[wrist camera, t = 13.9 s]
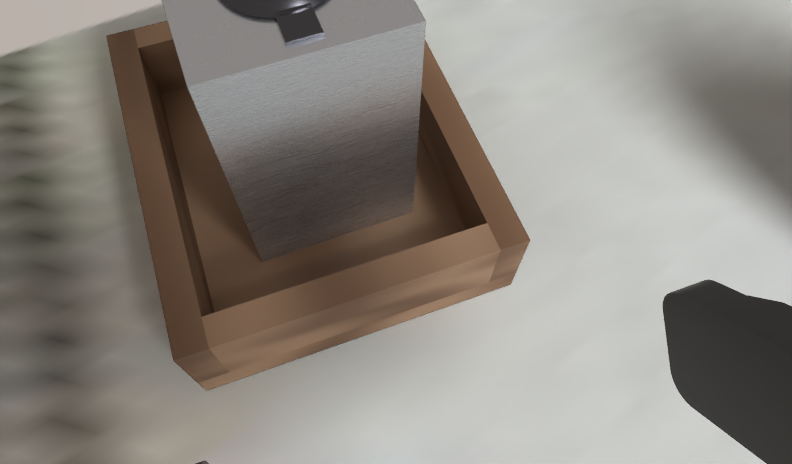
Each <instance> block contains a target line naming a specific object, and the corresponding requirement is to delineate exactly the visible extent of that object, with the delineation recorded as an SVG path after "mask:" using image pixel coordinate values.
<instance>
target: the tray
mask: <svg viewBox="0 0 792 464" xmlns="http://www.w3.org/2000/svg"><path fill="white" fill-rule="evenodd" d="M106 37H107V42H108V46H109V51H110V56H111V61H112V66H113V71H114V75H115V80H116V85H117V90H118V95H119V100H120V105H121V109H122V114H123V119H124V124H125V129H126V134H127V138H128V143H129V148H130V153H131V158H132V163H133V167H134V172H135V177H136V182H137V187H138V192H139V196H140V201H141V206H142V211H143V216H144V221H145V225H146V230H147V235H148V240H149V245H150V250H151V254H152V259H153V264H154V269H155V274H156V279H157V283H158V288H159V293H160V298H161V303H162V308H163V312H164V317H165V322H166V327H167V332H168V337H169V341H170V346H171V351H172V356H173V361H174V362H176V363H177V364H178V365H179V366H180V367H181V368H182V369H183V370H184V371H185V372H186V373H188V374H189V375H190V376H191V377H192V378H193V379H194V380H195V381H196V382H197V383H199V384H200V385H201V386H202V387H203V388H204V389H205V390H206V391H207V390H210V389H213V388H216V387H218V386H221V385H224V384H227V383H230V382H233V381H236V380H238V379H241V378H244V377H247V376H250V375H253V374H256V373H259V372H261V371H264V370H267V369H270V368H273V367H276V366H279V365H281V364H284V363H287V362H290V361H293V360H296V359H299V358H301V357H304V356H307V355H310V354H313V353H316V352H319V351H322V350H324V349H327V348H330V347H333V346H336V345H339V344H342V343H344V342H347V341H350V340H353V339H356V338H359V337H362V336H364V335H367V334H370V333H373V332H376V331H379V330H382V329H384V328H387V327H390V326H393V325H396V324H399V323H402V322H405V321H407V320H410V319H413V318H416V317H419V316H422V315H425V314H427V313H430V312H433V311H436V310H439V309H442V308H445V307H447V306H450V305H453V304H456V303H459V302H462V301H465V300H468V299H470V298H473V297H476V296H479V295H482V294H485V293H488V292H490V291H493V290H496V289H499V288H502V287H505V286H508V285H510V284H511V283H512V280H513V278H514V276H515V273H516V271H517V269H518V267H519V264H520V262H521V260H522V258H523V255H524V253H525V251H526V249H527V246H528V244H529V242H530V239H529V237H528V235H527V233H526V231H525V229H524V227H523V225H522V223H521V221H520V220H519V218H518V216H517V214H516V212H515V210H514V208H513V206H512V204H511V202H510V201H509V199H508V197H507V195H506V193H505V191H504V189H503V187H502V185H501V183H500V182H499V180H498V178H497V176H496V174H495V172H494V170H493V168H492V166H491V164H490V162H489V161H488V159H487V157H486V155H485V153H484V151H483V149H482V147H481V145H480V143H479V142H478V140H477V138H476V136H475V134H474V132H473V130H472V128H471V126H470V124H469V123H468V121H467V119H466V117H465V115H464V113H463V111H462V109H461V107H460V105H459V103H458V102H457V100H456V98H455V96H454V94H453V92H452V90H451V88H450V86H449V84H448V83H447V81H446V79H445V77H444V75H443V73H442V71H441V69H440V67H439V65H438V64H437V62H436V60H435V58H434V56H433V54H432V52H431V50H430V48H429V46H428V44H427V43H426V41H425V42H424V57H423V72H422V87H421V102H420V117H419V131H418V146H417V161H416V176H415V191H414V206H413V212H412V213H409V214H406V215H403V216H400V217H397V218H394V219H391V220H388V221H385V222H382V223H379V224H376V225H373V226H370V227H367V228H364V229H361V230H358V231H355V232H352V233H349V234H346V235H343V236H339V237H336V238H333V239H330V240H327V241H324V242H321V243H318V244H315V245H312V246H309V247H306V248H303V249H300V250H297V251H294V252H291V253H288V254H285V255H282V256H279V257H276V258H273V259H270V260H267V261H264V262H262V260H261V257H260V255H259V253H258V250H257V248H256V246H255V243H254V241H253V239H252V236H251V234H250V232H249V230H248V227H247V225H246V223H245V220H244V218H243V216H242V213H241V211H240V209H239V206H238V204H237V202H236V199H235V197H234V195H233V192H232V190H231V188H230V185H229V183H228V181H227V178H226V176H225V174H224V171H223V169H222V167H221V164H220V162H219V160H218V157H217V155H216V153H215V150H214V148H213V146H212V143H211V141H210V139H209V136H208V134H207V132H206V129H205V127H204V125H203V122H202V120H201V118H200V115H199V113H198V111H197V108H196V106H195V104H194V101H193V99H192V97H191V95H190V92H189V90H188V88H187V84H186V81H185V78H184V74H183V71H182V67H181V64H180V61H179V57H178V54H177V51H176V47H175V44H174V40H173V37H172V34H171V30H170V27H169V23H168V21H164V22H160V23H156V24H152V25H148V26H144V27H140V28H136V29H132V30H128V31H124V32H120V33H116V34H111V35H107V36H106Z"/></svg>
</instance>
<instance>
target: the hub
mask: <svg viewBox="0 0 792 464" xmlns="http://www.w3.org/2000/svg"><path fill="white" fill-rule="evenodd" d="M162 3H163V6H164V10H165V13H166V17H167V20H168V23H169V27H170V30H171V34H172V37H173V40H174V44H175V47H176V51H177V54H178V57H179V61H180V64H181V67H182V71H183V74H184V78H185V81H186V84H187V88H188V90H189V92H190V95H191V97H192V99H193V101H194V104H195V106H196V108H197V111H198V113H199V115H200V118H201V120H202V122H203V125H204V127H205V129H206V132H207V134H208V136H209V139H210V141H211V143H212V146H213V148H214V150H215V153H216V155H217V157H218V160H219V162H220V164H221V167H222V169H223V171H224V174H225V176H226V178H227V181H228V183H229V185H230V188H231V190H232V192H233V195H234V197H235V199H236V202H237V204H238V206H239V209H240V211H241V213H242V216H243V218H244V220H245V223H246V225H247V227H248V230H249V232H250V234H251V236H252V239H253V241H254V243H255V246H256V248H257V250H258V253H259V255H260V257H261V260H262V262H264V261H267V260H270V259H273V258H276V257H279V256H282V255H285V254H288V253H291V252H294V251H297V250H300V249H303V248H306V247H309V246H312V245H315V244H318V243H321V242H324V241H327V240H330V239H333V238H336V237H339V236H343V235H346V234H349V233H352V232H355V231H358V230H361V229H364V228H367V227H370V226H373V225H376V224H379V223H382V222H385V221H388V220H391V219H394V218H397V217H400V216H403V215H406V214H409V213H412V212H413V206H414V191H415V176H416V161H417V146H418V131H419V117H420V102H421V87H422V72H423V57H424V42H425V27H426V20H425V18H424V17H423V15H422V13H421V11H420V10H419V8H418V6H417V4H416V2H415V1H414V0H162Z"/></svg>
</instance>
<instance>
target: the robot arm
mask: <svg viewBox="0 0 792 464" xmlns="http://www.w3.org/2000/svg"><path fill="white" fill-rule="evenodd" d="M663 314H664V322H665V329H666V337H667V345H668V353H669V361H670V369H671V374H672V378H673V381H674V383H675V385H676V387H677V389H678V391H679V393H680V394H681V396H682V397H683V398H684V400H685V401H686V402H687V403H688V404H689V405H690V406H691V407H693V408H694V409H695V410H696V411H698V412H699V413H700V414H702V415H703V416H704V417H706V418H707V419H708V420H710V421H711V422H712V423H714V424H715V425H716V426H718V427H719V428H720V429H722V430H723V431H724V432H726V433H727V434H728V435H730V436H731V437H732V438H734V439H735V440H736V441H737V442H739V443H740V444H741V445H743V446H744V447H745V448H747V449H748V450H749V451H751V452H752V453H753V454H755V455H756V456H757V457H759V458H760V459H761V460H763V461H764V462H765V463H767V464H792V306H789V305H787V304H785V303H782V302H777V301H772V300H767V299H762V298H757V297H752V296H746V295H744V294H742V293H740V292H737V291H735V290H733V289H731V288H729V287H726V286H724V285H722V284H720V283H718V282H715V281H713V280H704V281H701V282H699V283H696V284H693V285H690V286H688V287H685V288H682V289H679V290H677V291H674V292H671V293H669V294H667V295H666V296H665V298H664V301H663ZM196 464H209V463H208V462H207V461H202V462H199V463H196Z"/></svg>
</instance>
